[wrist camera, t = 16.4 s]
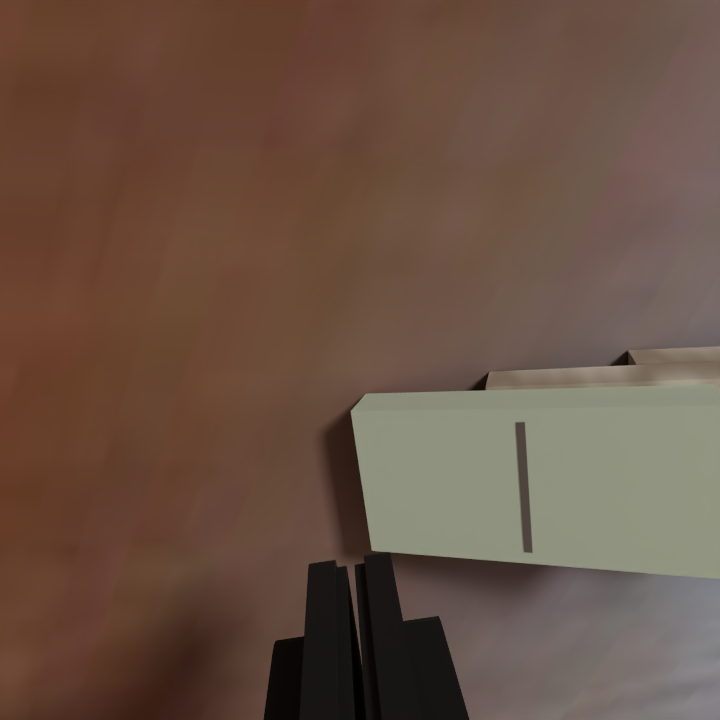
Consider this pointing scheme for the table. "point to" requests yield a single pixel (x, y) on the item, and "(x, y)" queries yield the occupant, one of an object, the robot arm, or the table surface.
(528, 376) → the domino
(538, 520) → the domino
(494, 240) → the table surface
